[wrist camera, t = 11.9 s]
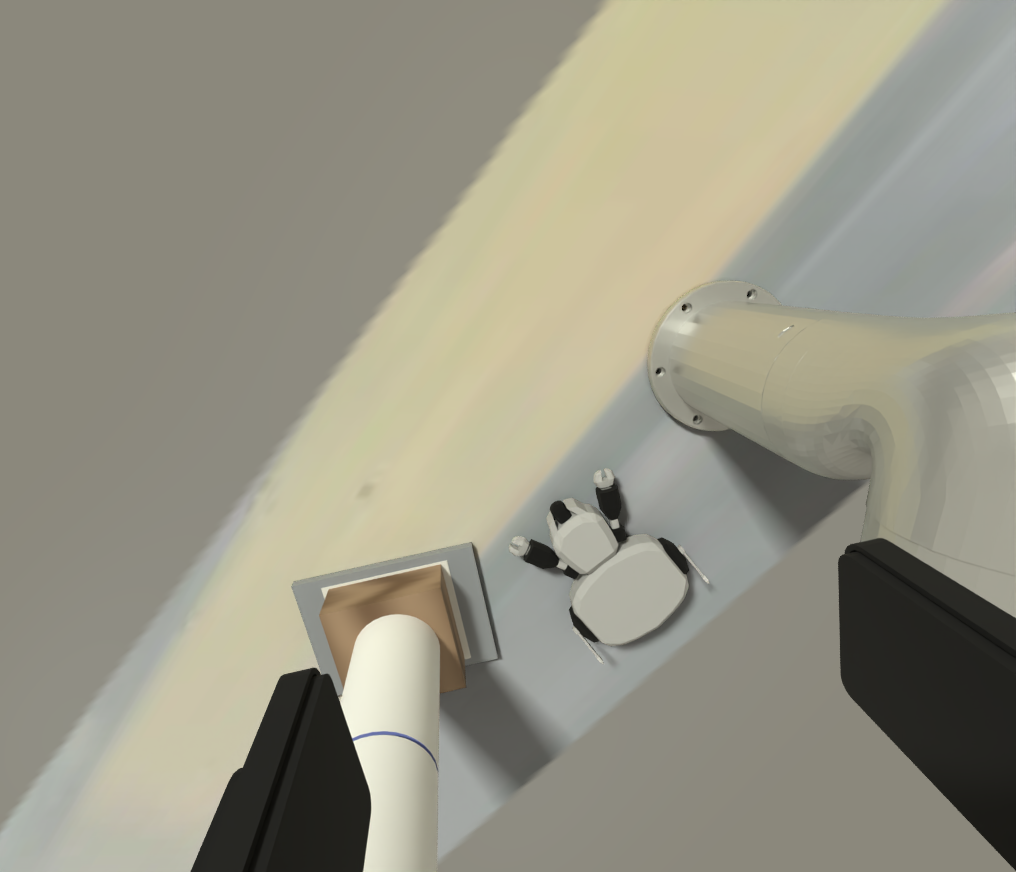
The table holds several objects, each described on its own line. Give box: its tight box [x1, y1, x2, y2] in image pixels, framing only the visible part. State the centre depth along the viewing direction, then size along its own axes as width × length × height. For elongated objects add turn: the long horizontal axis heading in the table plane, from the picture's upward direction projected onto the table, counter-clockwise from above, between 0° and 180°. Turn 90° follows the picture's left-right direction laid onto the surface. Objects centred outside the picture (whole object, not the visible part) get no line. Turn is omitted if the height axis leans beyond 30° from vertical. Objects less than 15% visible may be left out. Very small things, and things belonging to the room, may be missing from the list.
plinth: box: [319, 564, 466, 693], centre depth 50 cm, size 10×10×4 cm
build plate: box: [291, 542, 498, 696], centre depth 52 cm, size 16×12×1 cm
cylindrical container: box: [340, 614, 440, 872], centre depth 36 cm, size 7×7×25 cm
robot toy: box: [509, 468, 709, 664], centre depth 51 cm, size 12×4×15 cm
